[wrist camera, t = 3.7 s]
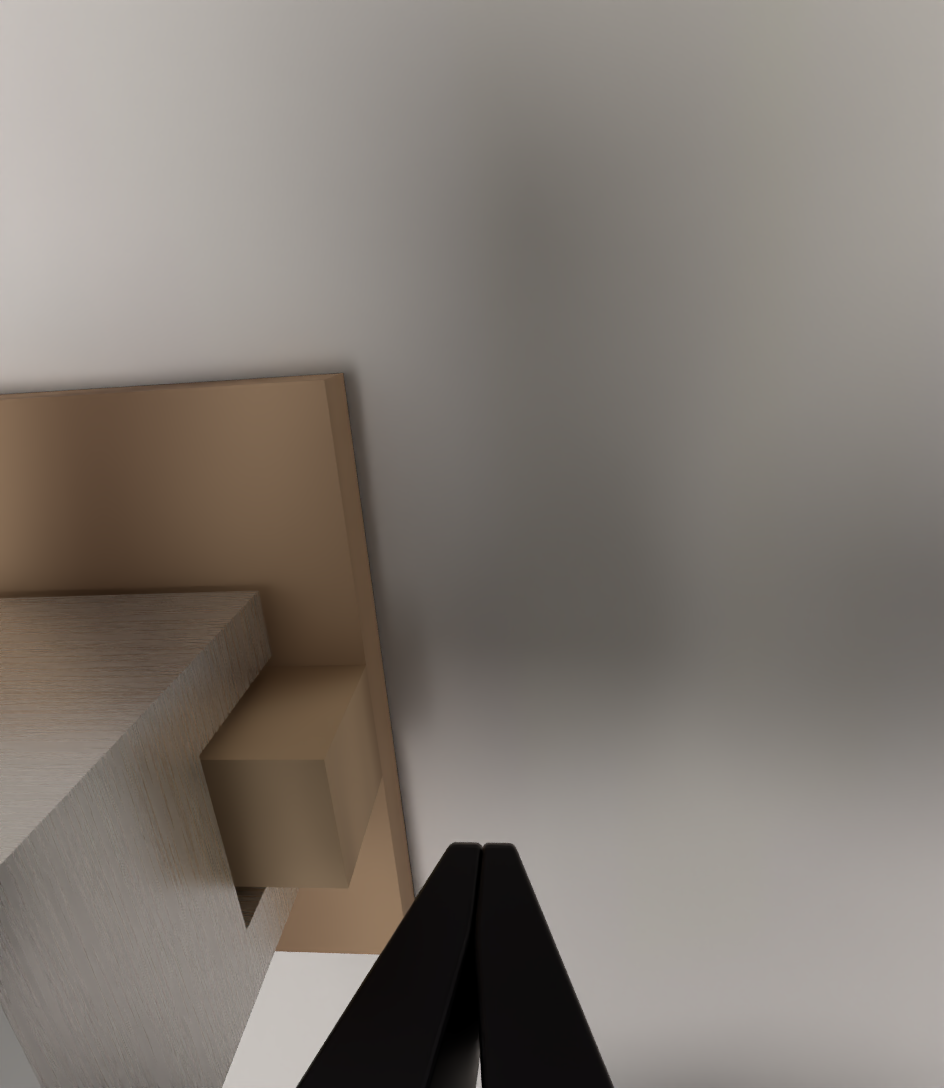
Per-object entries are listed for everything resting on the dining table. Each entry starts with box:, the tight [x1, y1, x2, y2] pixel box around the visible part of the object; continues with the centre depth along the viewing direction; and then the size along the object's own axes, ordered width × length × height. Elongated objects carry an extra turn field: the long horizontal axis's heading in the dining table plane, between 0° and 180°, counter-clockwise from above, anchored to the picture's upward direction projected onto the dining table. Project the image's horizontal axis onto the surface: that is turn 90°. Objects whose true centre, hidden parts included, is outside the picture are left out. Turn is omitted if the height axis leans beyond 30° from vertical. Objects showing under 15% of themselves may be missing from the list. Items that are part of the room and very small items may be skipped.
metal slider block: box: [0, 591, 299, 1088], centre depth 9 cm, size 5×6×6 cm
